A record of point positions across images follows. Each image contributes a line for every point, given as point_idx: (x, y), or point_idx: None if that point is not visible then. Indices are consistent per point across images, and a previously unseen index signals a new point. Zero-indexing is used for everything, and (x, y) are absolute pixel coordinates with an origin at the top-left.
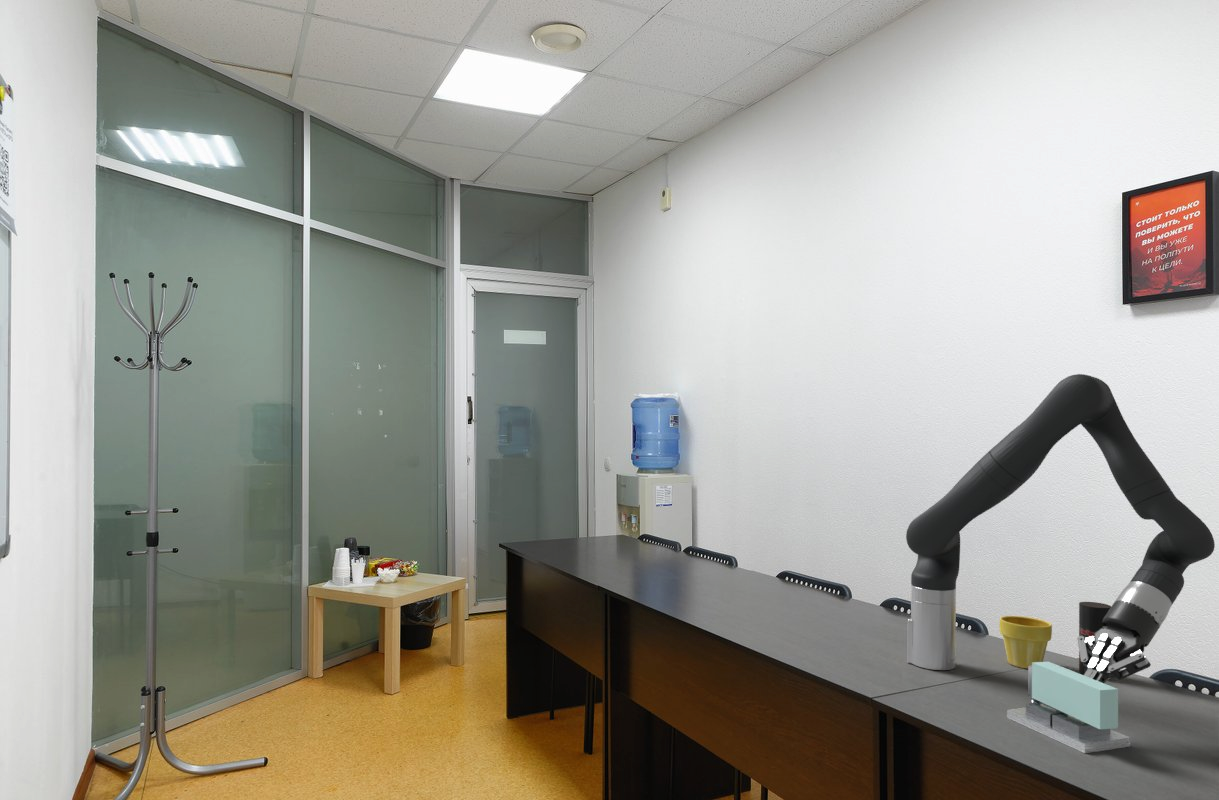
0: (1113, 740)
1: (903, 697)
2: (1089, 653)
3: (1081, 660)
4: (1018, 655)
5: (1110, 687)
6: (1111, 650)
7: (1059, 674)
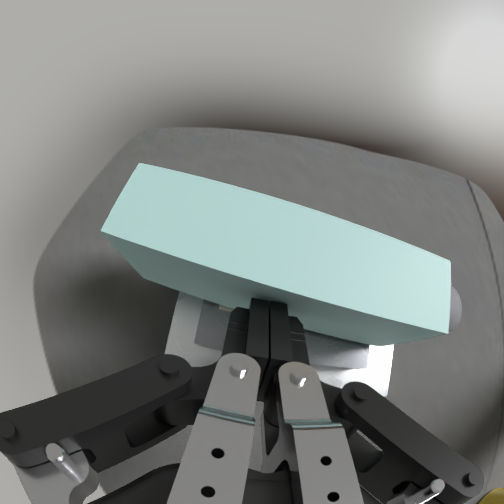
0: (174, 312)
1: (469, 210)
2: (378, 465)
3: (366, 387)
4: (498, 496)
5: (124, 222)
6: (204, 474)
7: (332, 218)
